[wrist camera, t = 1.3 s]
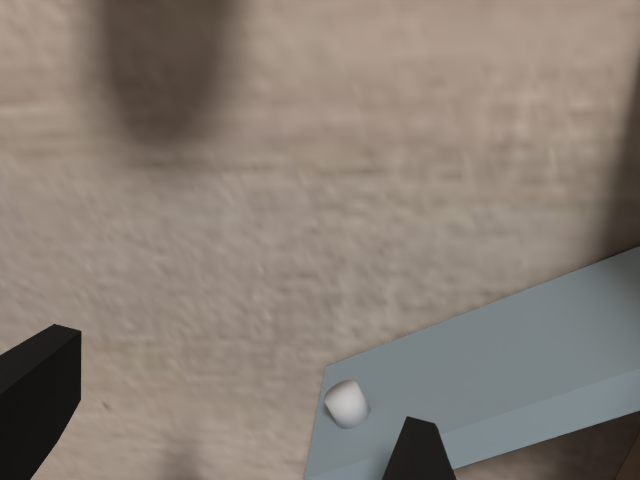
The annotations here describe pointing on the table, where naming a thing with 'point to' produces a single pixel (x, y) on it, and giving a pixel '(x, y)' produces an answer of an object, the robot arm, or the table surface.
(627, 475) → the brown wooden block
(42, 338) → the robot arm
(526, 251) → the table surface
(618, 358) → the cabinet door
